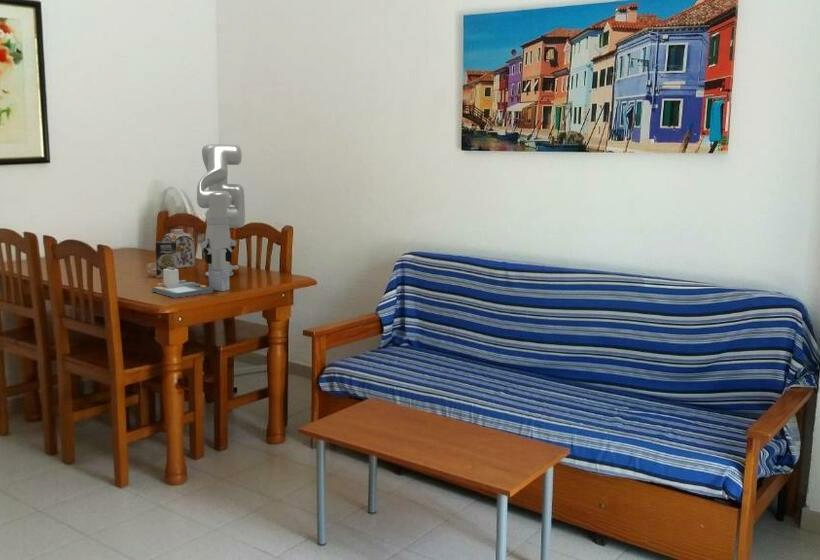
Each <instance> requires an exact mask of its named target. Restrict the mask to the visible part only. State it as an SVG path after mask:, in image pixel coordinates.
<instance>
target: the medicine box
mask: <svg viewBox="0 0 820 560" xmlns="http://www.w3.org/2000/svg"><path fill="white" fill-rule="evenodd" d="M208 271H209V276H208V287H212V288H213V291H220V292H226V290H227V291H229V290H230V276H229V270H225V269H218V268H214V269H210V270H209V269H208Z"/></svg>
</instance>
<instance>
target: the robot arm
mask: <svg viewBox="0 0 820 560" xmlns="http://www.w3.org/2000/svg"><path fill="white" fill-rule="evenodd" d="M201 156H202V162H203V164H204V167H205V169H206V171H207V172H206V173H205V174H204V175H203V176H202V177H201V178H200V180H199V181H198V184H197V188H196V203H197V206H198V207H199V208H201V209H207V210H206V211H205V220H206V230H205V237H204V238H205V239H204V241H202V242H201V243H200V244H199V246H200V249H201V251H202V252H203V253H204V254H205V263H206V264H208V271H206V272H204V273H205V276H206V277H209V270H210V269H214V268H218V269H225V270H229V277H232V276H234V272H233V270H238V269H239V265H238V264H237V265H232V264H231V263H230V262H232V253H233V251H234V249H235V247H236V245H237V241H236V240H234V239H233V238H231V230H230V229H231V228H233V229H240V228H242V227H244V226H245V222H246V206H245V202H246V201H245V190H244V187H243V185H240V184H237V183H228V173H229V172H228V166H239V165H240V164H241V162H242V158H243V154H242V150H241V147H240V146H239V144H219V143H218V144H216V143H215V144H214V143H212V144H206V145H204V146H203V147H202V148H201ZM206 189H208V190H206ZM231 205H232V206H231Z"/></svg>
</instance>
